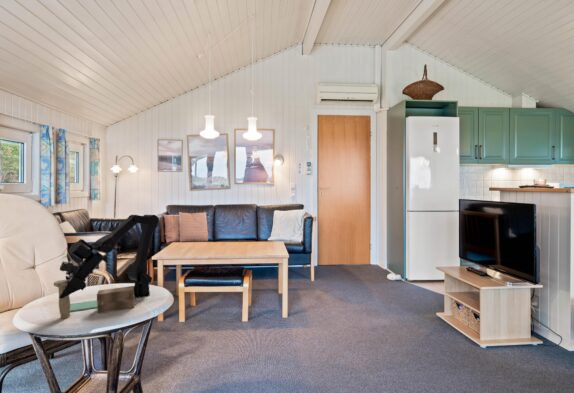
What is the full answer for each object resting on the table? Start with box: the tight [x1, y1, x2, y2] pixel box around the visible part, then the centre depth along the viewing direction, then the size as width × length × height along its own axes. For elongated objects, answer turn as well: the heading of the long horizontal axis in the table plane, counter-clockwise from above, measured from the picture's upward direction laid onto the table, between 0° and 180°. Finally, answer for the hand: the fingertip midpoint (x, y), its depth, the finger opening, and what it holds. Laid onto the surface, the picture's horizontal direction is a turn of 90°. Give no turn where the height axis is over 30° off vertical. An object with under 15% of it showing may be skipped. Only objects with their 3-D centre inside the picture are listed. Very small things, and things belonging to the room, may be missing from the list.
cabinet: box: [96, 285, 135, 314], centre depth 152 cm, size 14×8×8 cm, turn 111°
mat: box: [70, 299, 98, 313], centre depth 156 cm, size 14×10×1 cm
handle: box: [53, 279, 71, 319], centre depth 144 cm, size 5×6×15 cm
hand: (59, 296), depth 143 cm, fingers open, 4 cm apart
